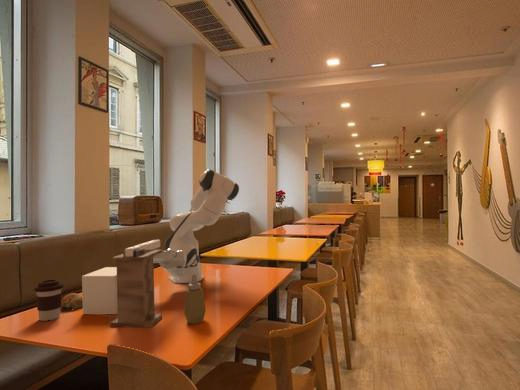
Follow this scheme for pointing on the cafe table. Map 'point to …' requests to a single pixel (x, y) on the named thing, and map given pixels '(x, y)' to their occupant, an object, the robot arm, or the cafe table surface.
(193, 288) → the squeeze bottle
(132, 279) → the walnut stand
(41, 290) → the coffee cup
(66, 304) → the bread roll
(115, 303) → the cream tilted cube
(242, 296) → the cafe table surface
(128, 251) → the brushed metal block
